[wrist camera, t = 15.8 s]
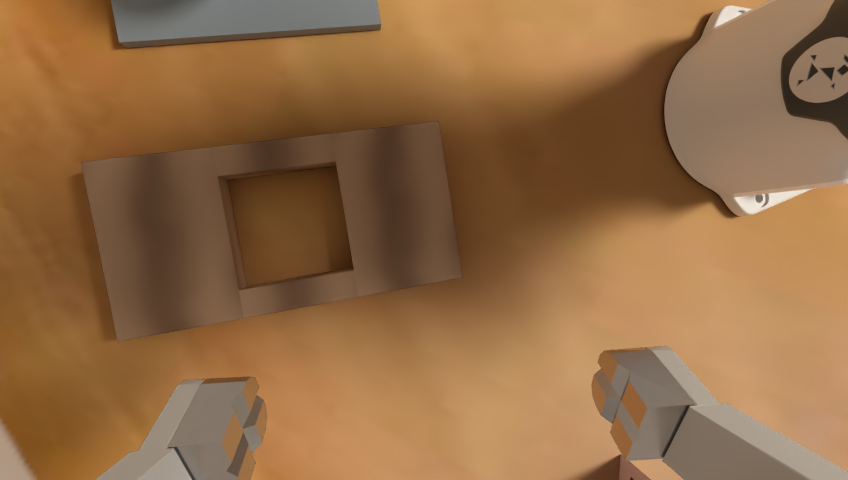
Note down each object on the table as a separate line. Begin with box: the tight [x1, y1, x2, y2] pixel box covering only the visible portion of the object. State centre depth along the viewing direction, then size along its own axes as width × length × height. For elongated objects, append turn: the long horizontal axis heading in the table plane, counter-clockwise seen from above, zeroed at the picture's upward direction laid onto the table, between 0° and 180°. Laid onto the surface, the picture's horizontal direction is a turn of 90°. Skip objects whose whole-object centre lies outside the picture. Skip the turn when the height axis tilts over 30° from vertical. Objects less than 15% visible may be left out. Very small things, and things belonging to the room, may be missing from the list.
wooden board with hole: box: [81, 121, 463, 342], centre depth 28 cm, size 24×12×2 cm, turn 99°
